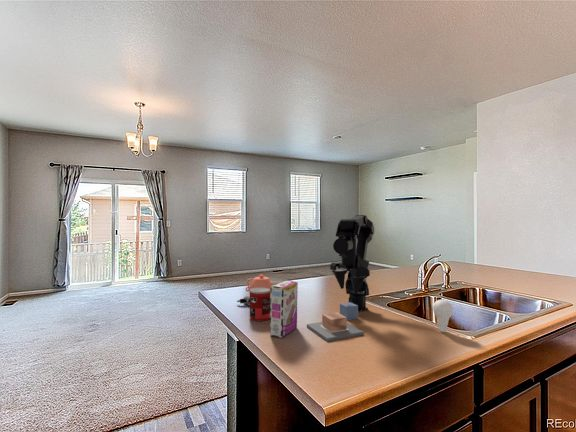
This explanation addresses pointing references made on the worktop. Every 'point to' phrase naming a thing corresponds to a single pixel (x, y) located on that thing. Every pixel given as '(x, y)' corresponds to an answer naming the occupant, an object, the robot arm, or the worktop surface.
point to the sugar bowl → (260, 283)
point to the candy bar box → (283, 308)
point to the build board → (334, 332)
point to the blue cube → (349, 310)
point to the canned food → (259, 304)
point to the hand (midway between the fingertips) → (348, 291)
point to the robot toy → (248, 300)
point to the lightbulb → (442, 313)
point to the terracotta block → (334, 321)
